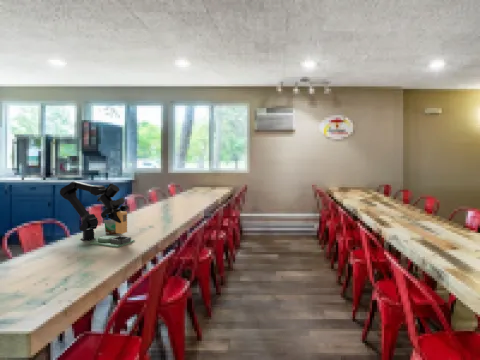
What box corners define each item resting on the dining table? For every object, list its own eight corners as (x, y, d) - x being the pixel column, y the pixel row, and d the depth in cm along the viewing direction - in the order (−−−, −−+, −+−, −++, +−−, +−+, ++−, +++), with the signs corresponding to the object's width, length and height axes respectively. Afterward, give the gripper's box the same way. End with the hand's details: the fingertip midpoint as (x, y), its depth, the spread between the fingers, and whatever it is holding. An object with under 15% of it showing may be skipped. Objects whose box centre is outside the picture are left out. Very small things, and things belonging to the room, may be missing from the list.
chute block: (115, 232, 190) (115, 212, 189) (120, 231, 194) (120, 211, 193) (122, 233, 188) (122, 212, 188) (127, 232, 193) (127, 211, 192)
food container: (108, 236, 209) (108, 221, 208) (103, 234, 213) (103, 219, 212) (125, 232, 219) (125, 218, 218) (120, 231, 223) (120, 217, 222)
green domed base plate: (90, 243, 190) (90, 238, 189) (108, 238, 204) (108, 232, 203) (117, 247, 183) (117, 241, 183) (134, 241, 197) (134, 236, 197)
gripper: (104, 195, 182) (120, 215, 179) (126, 192, 200) (140, 210, 197) (93, 207, 185) (109, 228, 182) (115, 203, 203) (130, 222, 200)
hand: (123, 221), depth 190 cm, fingers closed on chute block, 5 cm apart
